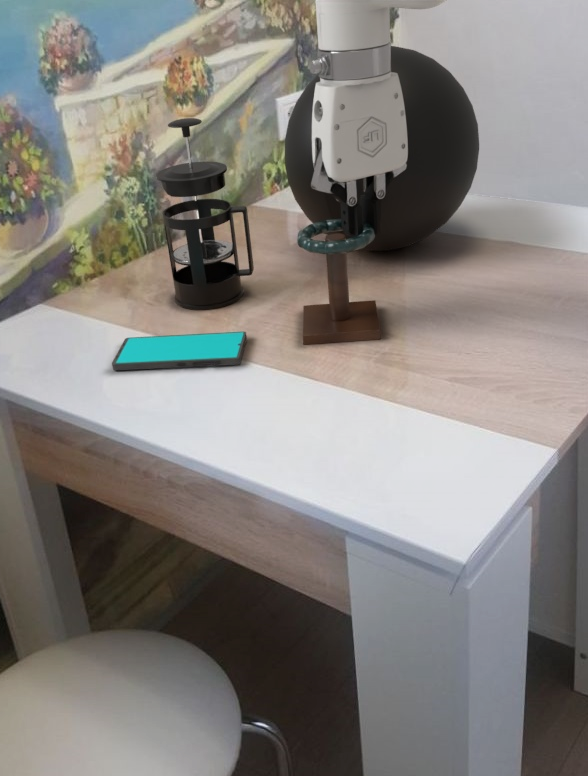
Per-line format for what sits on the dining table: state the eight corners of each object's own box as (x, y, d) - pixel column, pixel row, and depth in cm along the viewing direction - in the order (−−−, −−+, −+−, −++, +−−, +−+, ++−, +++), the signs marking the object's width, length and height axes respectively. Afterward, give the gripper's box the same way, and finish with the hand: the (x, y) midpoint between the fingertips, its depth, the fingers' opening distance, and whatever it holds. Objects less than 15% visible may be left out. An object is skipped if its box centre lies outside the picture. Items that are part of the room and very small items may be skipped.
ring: (371, 225, 105) (371, 214, 104) (376, 252, 97) (376, 239, 97) (298, 232, 105) (297, 221, 105) (297, 258, 98) (296, 246, 97)
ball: (475, 212, 138) (479, 24, 124) (479, 276, 116) (485, 55, 102) (306, 220, 144) (292, 40, 130) (279, 282, 121) (258, 73, 107)
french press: (163, 311, 116) (132, 131, 104) (177, 285, 124) (150, 115, 112) (251, 307, 115) (229, 124, 103) (259, 281, 122) (241, 107, 110)
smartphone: (125, 337, 108) (246, 331, 106) (126, 343, 108) (247, 337, 106) (110, 364, 102) (238, 358, 100) (112, 371, 102) (239, 365, 100)
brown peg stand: (375, 309, 110) (372, 221, 104) (380, 339, 103) (376, 246, 97) (304, 314, 111) (296, 227, 105) (303, 344, 103) (295, 253, 98)
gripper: (307, 80, 87) (319, 258, 97) (437, 55, 93) (436, 226, 102) (272, 73, 93) (287, 242, 103) (396, 50, 99) (399, 212, 108)
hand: (362, 233), depth 102 cm, fingers closed on ring, 1 cm apart
